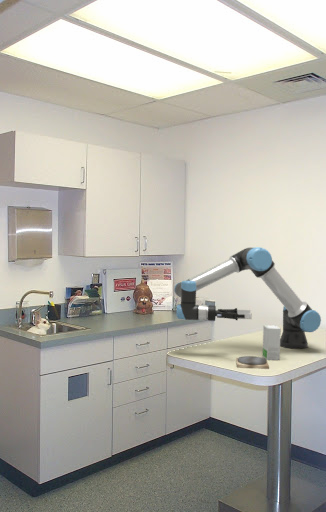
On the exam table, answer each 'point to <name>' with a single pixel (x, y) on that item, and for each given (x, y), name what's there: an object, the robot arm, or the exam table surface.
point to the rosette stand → (252, 362)
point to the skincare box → (271, 342)
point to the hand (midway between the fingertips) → (251, 314)
